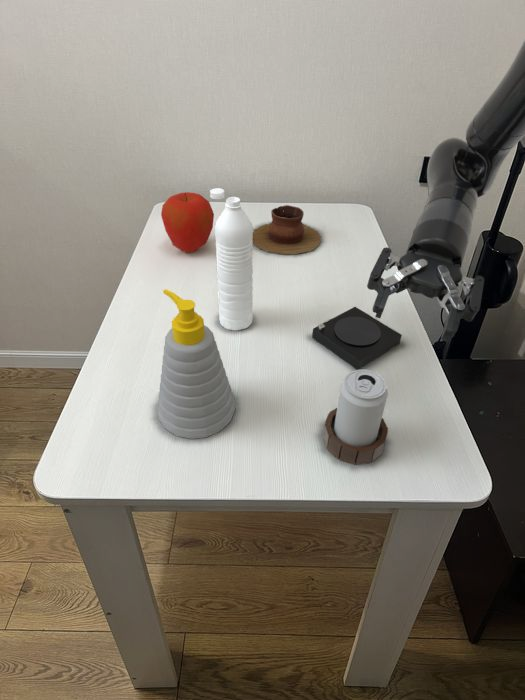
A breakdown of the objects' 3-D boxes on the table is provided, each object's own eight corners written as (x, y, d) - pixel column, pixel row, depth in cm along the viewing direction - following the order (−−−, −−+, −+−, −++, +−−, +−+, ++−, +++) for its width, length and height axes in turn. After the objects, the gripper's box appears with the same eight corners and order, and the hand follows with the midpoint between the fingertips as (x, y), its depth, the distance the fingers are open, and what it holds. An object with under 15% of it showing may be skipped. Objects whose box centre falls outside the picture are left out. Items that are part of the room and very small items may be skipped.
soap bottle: (204, 371, 85) (195, 269, 72) (251, 411, 78) (251, 306, 65) (142, 406, 78) (120, 301, 65) (188, 453, 71) (173, 346, 58)
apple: (208, 263, 113) (204, 205, 104) (158, 259, 114) (150, 201, 105) (220, 239, 122) (218, 183, 113) (174, 234, 124) (168, 179, 115)
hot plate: (399, 344, 92) (402, 331, 90) (357, 370, 86) (360, 357, 84) (353, 315, 98) (355, 303, 96) (311, 337, 93) (313, 325, 91)
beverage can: (379, 432, 75) (394, 375, 67) (368, 462, 71) (382, 405, 63) (340, 418, 77) (349, 361, 69) (326, 447, 73) (335, 390, 65)
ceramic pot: (261, 218, 132) (262, 193, 127) (326, 227, 128) (329, 201, 124) (241, 249, 118) (241, 222, 114) (313, 260, 115) (316, 232, 110)
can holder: (396, 443, 73) (400, 430, 72) (355, 474, 69) (358, 461, 67) (351, 409, 79) (354, 395, 77) (311, 436, 74) (313, 423, 72)
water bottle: (259, 322, 96) (261, 199, 80) (233, 335, 93) (230, 210, 77) (231, 302, 101) (227, 183, 85) (205, 315, 98) (197, 193, 82)
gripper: (397, 204, 67) (362, 289, 60) (502, 233, 65) (480, 327, 57) (385, 242, 74) (352, 324, 66) (480, 271, 71) (458, 360, 63)
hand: (411, 325), depth 61 cm, fingers open, 8 cm apart
